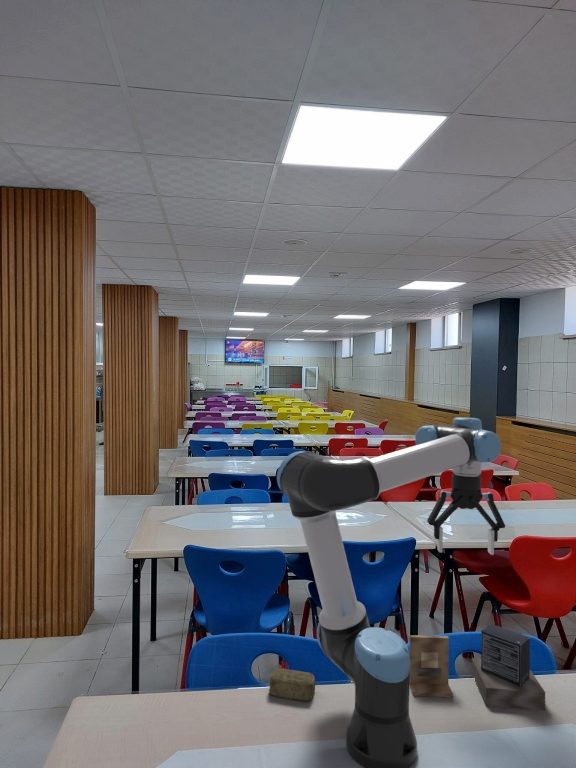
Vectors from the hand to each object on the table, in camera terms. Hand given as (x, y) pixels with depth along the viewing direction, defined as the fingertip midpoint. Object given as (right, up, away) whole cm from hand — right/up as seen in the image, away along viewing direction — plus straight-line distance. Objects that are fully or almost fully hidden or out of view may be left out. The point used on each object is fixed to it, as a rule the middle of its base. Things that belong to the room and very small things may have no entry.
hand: (465, 552), depth 138 cm
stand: (-11, -34, -6) cm, 36 cm away
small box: (+8, -30, -6) cm, 32 cm away
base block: (+8, -35, -6) cm, 36 cm away
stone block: (-47, -34, -8) cm, 59 cm away
